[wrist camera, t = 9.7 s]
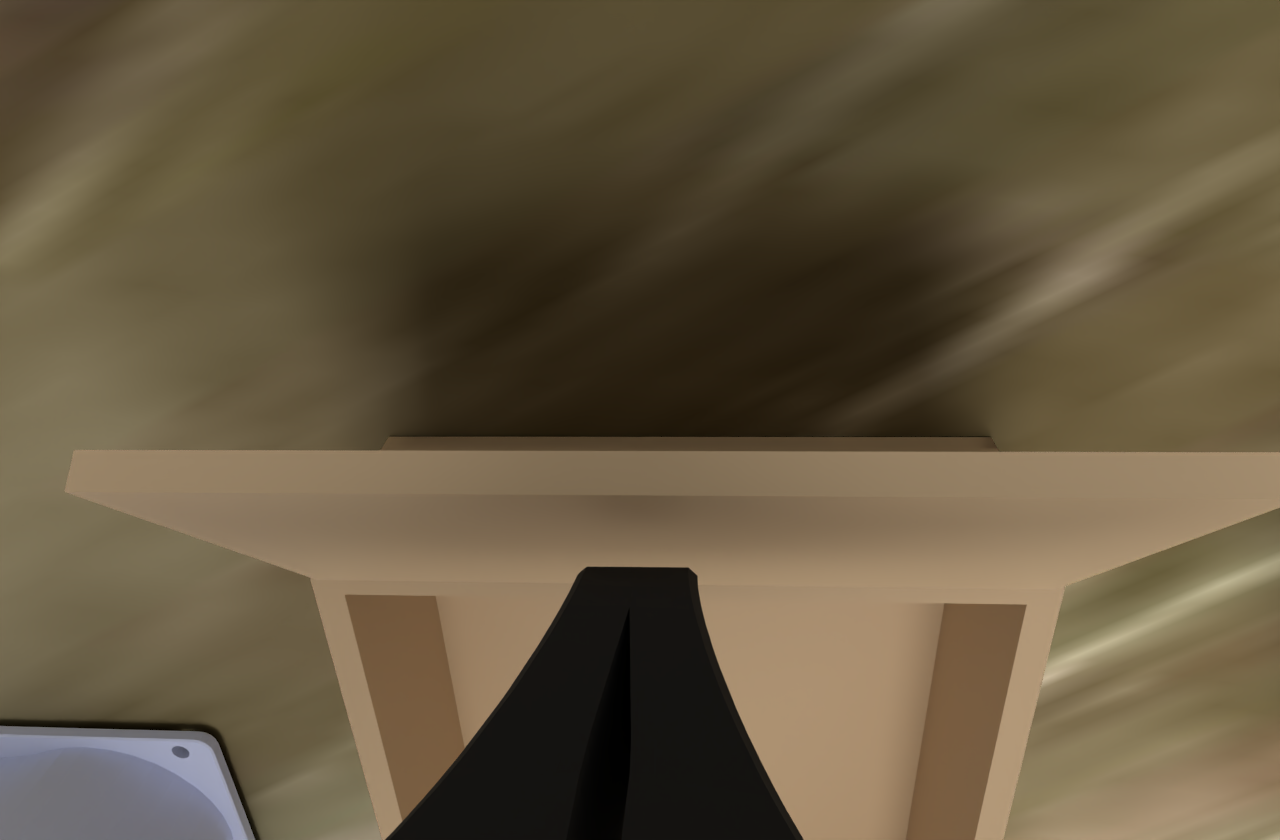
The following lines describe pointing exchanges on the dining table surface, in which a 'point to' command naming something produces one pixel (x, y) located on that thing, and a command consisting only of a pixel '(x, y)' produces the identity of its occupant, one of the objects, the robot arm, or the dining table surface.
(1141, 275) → the dining table surface
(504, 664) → the carton
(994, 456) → the flap
